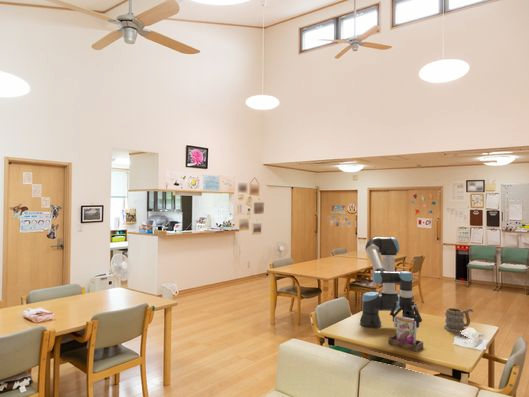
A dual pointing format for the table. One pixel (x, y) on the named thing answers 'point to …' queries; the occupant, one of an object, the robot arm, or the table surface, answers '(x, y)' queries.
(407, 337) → the candy bar box
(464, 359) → the table surface
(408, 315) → the french press
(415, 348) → the holder tray
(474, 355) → the table surface
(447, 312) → the tankard
